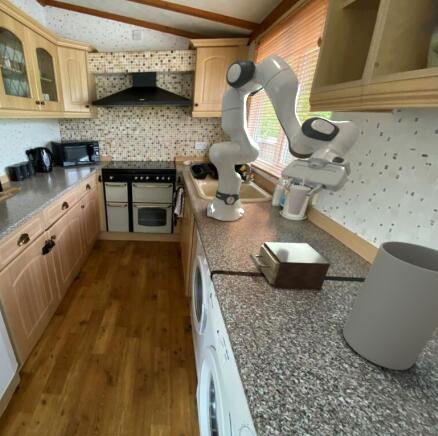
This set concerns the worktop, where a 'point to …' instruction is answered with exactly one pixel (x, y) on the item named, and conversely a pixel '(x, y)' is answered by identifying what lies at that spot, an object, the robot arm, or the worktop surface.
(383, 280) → the cylinder vase
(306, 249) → the cabinet
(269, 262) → the drawer
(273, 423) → the worktop surface
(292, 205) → the smoothie
